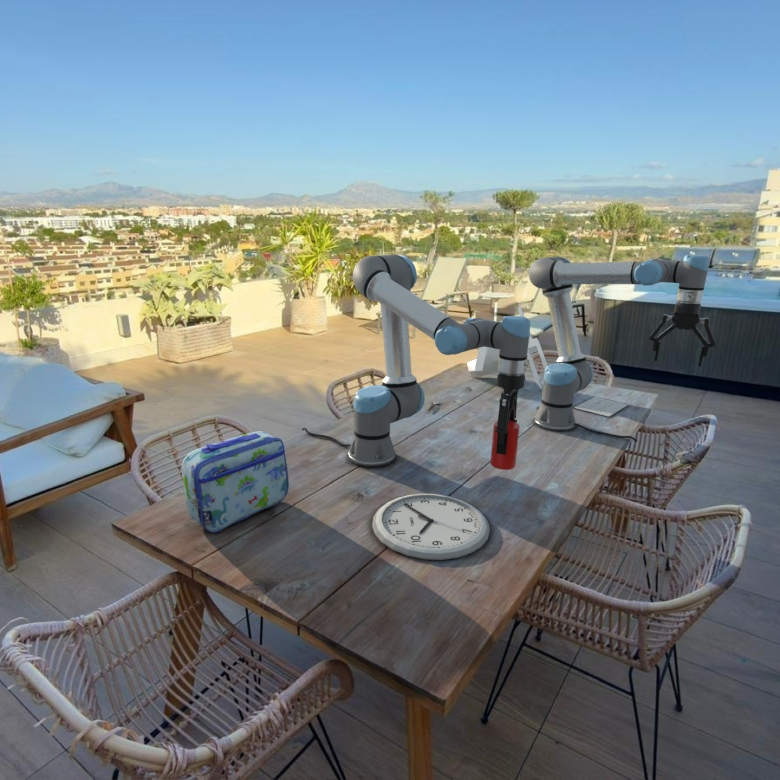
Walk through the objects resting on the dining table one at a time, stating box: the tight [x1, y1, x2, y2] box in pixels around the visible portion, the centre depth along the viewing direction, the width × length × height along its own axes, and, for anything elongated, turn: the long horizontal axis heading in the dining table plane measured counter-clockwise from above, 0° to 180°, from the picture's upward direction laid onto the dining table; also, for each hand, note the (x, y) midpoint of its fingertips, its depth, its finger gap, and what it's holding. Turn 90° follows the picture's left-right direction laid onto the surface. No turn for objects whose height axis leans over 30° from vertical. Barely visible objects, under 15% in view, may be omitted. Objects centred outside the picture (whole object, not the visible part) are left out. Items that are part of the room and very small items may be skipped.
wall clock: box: [371, 493, 491, 561], centre depth 134 cm, size 30×2×30 cm
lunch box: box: [181, 430, 290, 533], centre depth 135 cm, size 26×11×21 cm, turn 134°
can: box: [489, 420, 520, 471], centre depth 152 cm, size 7×7×13 cm
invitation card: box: [573, 396, 629, 418], centre depth 226 cm, size 21×1×15 cm
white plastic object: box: [466, 306, 549, 390], centre depth 259 cm, size 37×45×31 cm
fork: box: [427, 396, 442, 412], centre depth 222 cm, size 3×16×2 cm, turn 160°
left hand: (504, 448), depth 152 cm, fingers closed on can, 7 cm apart
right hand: (677, 362), depth 184 cm, fingers open, 13 cm apart
